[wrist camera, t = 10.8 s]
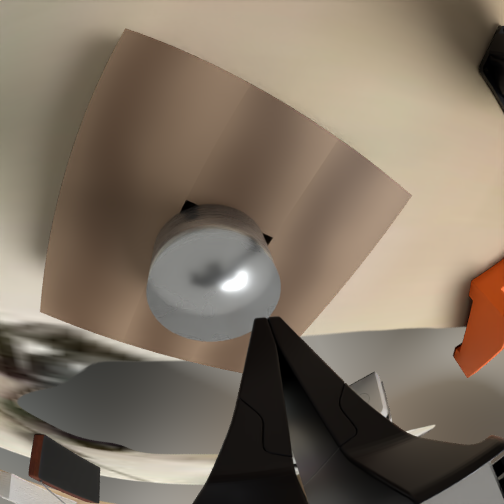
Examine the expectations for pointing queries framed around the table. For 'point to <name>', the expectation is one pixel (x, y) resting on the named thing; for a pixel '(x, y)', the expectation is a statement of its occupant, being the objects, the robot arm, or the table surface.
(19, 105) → the table surface
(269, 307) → the steel peg
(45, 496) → the grey rectangular block
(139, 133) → the walnut block
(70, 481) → the radio
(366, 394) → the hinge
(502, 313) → the tape dispenser
